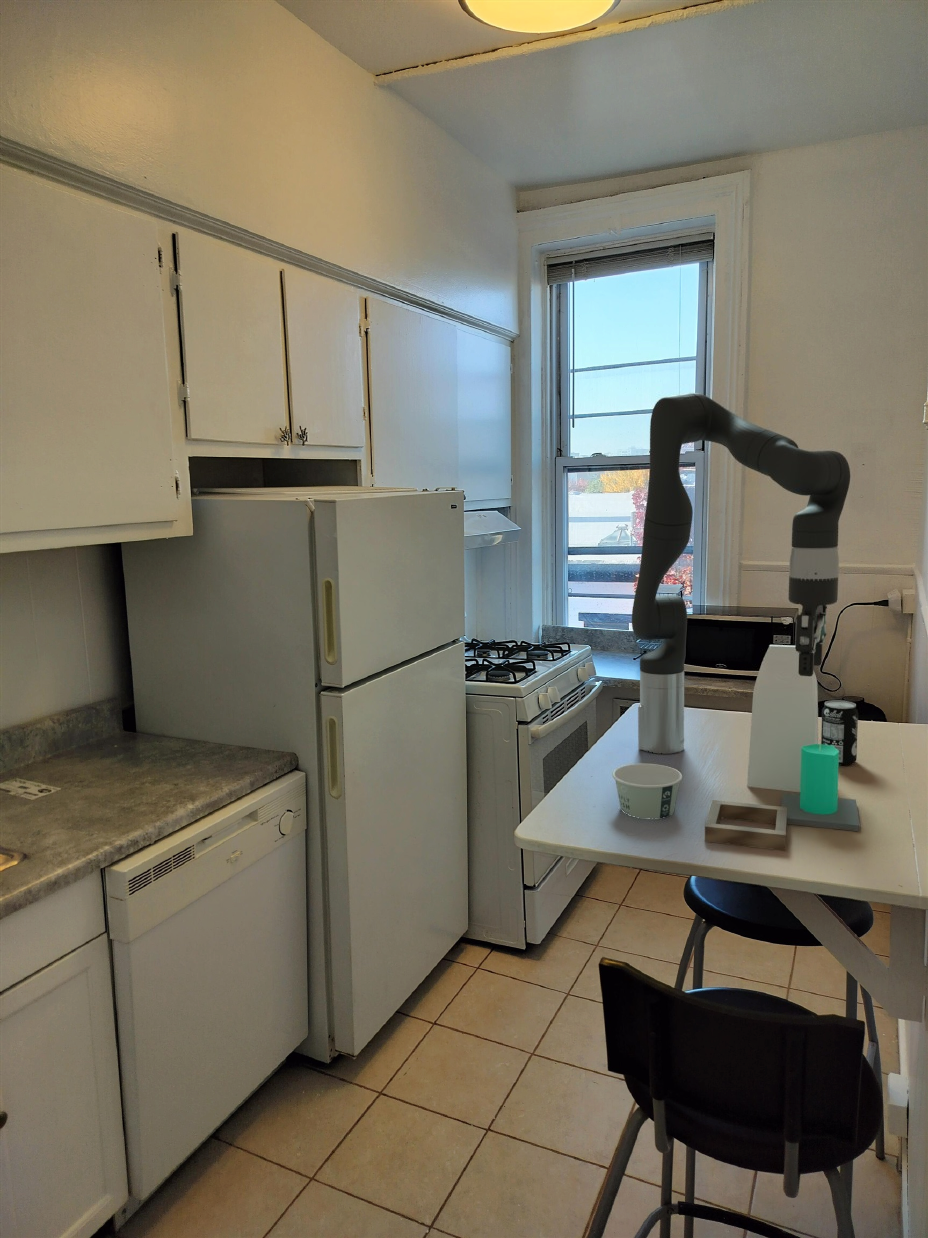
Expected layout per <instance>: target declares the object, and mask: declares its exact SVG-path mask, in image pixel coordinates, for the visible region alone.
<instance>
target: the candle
mask: <svg viewBox="0 0 928 1238" xmlns="http://www.w3.org/2000/svg"><path fill="white" fill-rule="evenodd" d="M839 767H840V766H839V751H838V750H837V749H836V748H835V747H834V746H831V745H823V744H821V739H819V743H818V744H812V745H807V746H802V747H801V784H800V792H799V794H800V808H801V809H803V810H804V811H806V812H810V813H813V814H823V815H825V814H833V813H835V812H837V801H838V798H839V796H838V794H839V793H838V792H839Z"/></svg>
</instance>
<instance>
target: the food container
mask: <svg viewBox="0 0 928 1238" xmlns="http://www.w3.org/2000/svg"><path fill="white" fill-rule="evenodd" d="M611 775H612V778H613V779H614V780H615V785H616V790H617V794H618V801H619V807H620V810H621V809H622V810H623V811H624V812H625V813H627V814H629V815H631V816H635V817H639V818H650V819H649V820H656V819H655V818H662V819H664V818H663V817H666V818H668V817H667V816H669V817H671V816H672V815H673V814H674V813H675V808H676V802H677V798H678V792H679V785H680V782H681V781H682V779H683V775H682V773H681V772H680V771H679V770H678V769H676V768H673V767H670V766H667V765H662V764H657V763H632V764H625V765H622V766H619V767H617V768H615V769H614V770H613V771H612V774H611ZM673 812H674V813H673ZM672 813H673V814H672ZM670 815H671V816H670ZM631 816H630V817H631ZM639 818H638V819H639ZM652 818H653V819H652Z"/></svg>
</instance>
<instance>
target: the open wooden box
mask: <svg viewBox="0 0 928 1238" xmlns="http://www.w3.org/2000/svg"><path fill="white" fill-rule="evenodd" d="M707 814H708V815H707V819H706V822H705V825H704V842H708V843H716V844H717V843H718V844H725V845H733V846H743V847H750V848H751V847H752V848H758V849H759V848H760V849H769V850H777V851H784V852H785V851H786V841H787V840H786V839H787V825H788V824H787V807H781V806H778V805H777V806H776V805H767V804H757V803H749V802H748V803H747V802H744V803H743V802H737V801H736V802H735V801H725V800H716V799H713V800H712V801H711V804H710V807H709V810H708V813H707ZM721 819H727V820H728V819H729V820H737V821H748V822H757V823H764V824H765V823H766V824H775V830H774V829H765V828H757V827H748V826H747V827H746V826H737V825H731V824H720V821H721Z"/></svg>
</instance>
